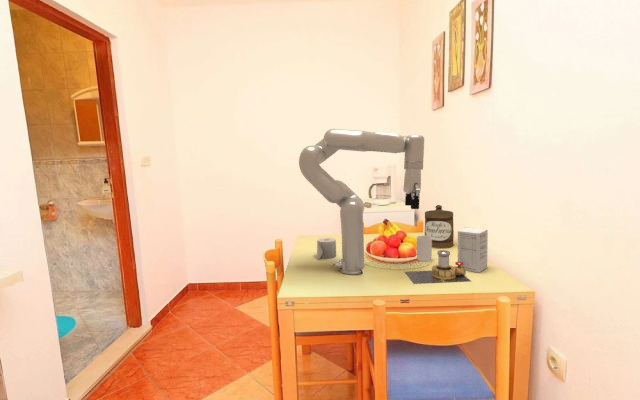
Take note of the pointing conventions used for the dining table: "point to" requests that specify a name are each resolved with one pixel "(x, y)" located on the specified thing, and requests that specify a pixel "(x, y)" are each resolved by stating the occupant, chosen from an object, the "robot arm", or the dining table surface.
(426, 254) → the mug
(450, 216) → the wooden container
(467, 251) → the supplement box
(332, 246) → the toilet tissue
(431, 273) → the fitting board
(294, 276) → the dining table surface
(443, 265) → the pipe stub
